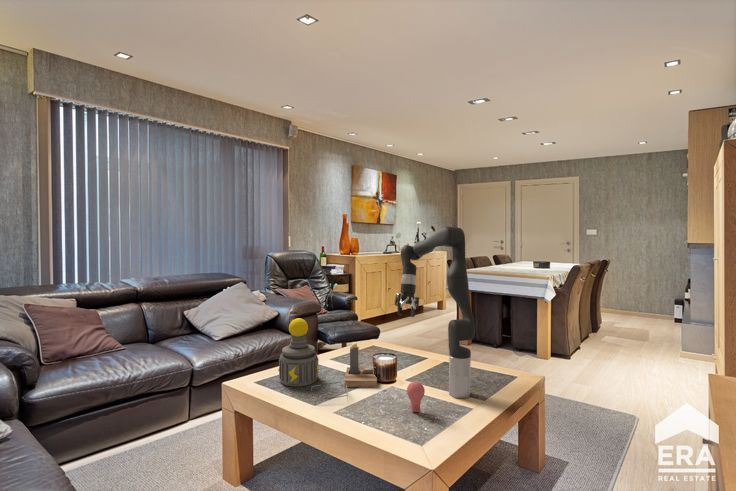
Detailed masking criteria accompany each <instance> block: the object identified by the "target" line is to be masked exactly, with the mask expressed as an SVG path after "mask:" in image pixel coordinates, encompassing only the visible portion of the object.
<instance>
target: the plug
mask: <svg viewBox="0 0 736 491" xmlns="http://www.w3.org/2000/svg"><path fill="white" fill-rule="evenodd" d="M349 348H350V349H349V367H350V374H359V367H360V360H359V359H360V352H359V351H360V347H359V346H358V343H356V342H354V343H353V342H352V344H351V346H350V347H349Z"/></svg>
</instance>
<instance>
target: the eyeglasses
mask: <svg viewBox="0 0 736 491" xmlns="http://www.w3.org/2000/svg"><path fill="white" fill-rule="evenodd" d="M342 381H343V379H340V381H336V382H335V381H334V382H330V383H324V384H317V385H312V386H311V388H310V390H311V391H313V388H314V387H321V386H326V385H332V384H333V385H334V384H338V383H340V385H342V383H341V382H342ZM343 383H345V382H344V381H343ZM340 387H341V389H343V387H342V386H340ZM344 390H345V391H344V393H348V387H346V386H345V387H344ZM341 397H346V398H348V397H349V396H348V394H344V395H338V396H333V397H328V398H321V399H316V400H315V402H314V405H315V406H317V402H320V401H326V400H330V399H335V398H336V399H337V398H341ZM346 401H347V402H348V401H349V400H348V399H346Z"/></svg>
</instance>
